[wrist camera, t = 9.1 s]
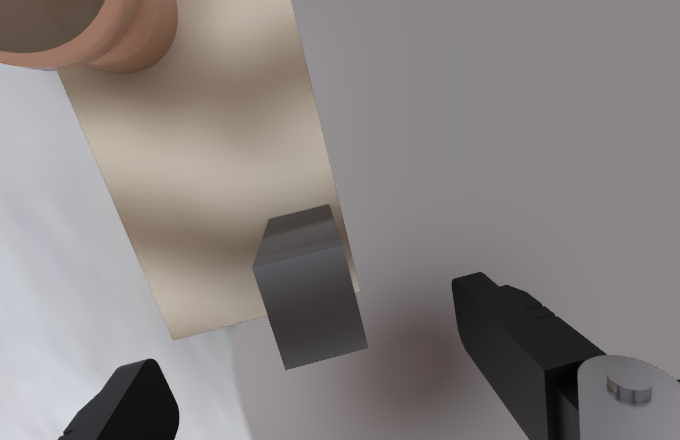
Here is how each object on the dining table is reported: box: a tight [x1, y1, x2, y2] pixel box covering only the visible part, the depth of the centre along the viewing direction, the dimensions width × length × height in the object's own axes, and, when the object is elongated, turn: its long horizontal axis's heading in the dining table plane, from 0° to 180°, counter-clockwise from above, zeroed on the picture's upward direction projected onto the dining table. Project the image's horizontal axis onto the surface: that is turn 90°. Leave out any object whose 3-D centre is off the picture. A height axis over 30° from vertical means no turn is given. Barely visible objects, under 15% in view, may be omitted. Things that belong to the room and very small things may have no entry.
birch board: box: [57, 0, 368, 370], centre depth 13 cm, size 24×10×7 cm, turn 13°
